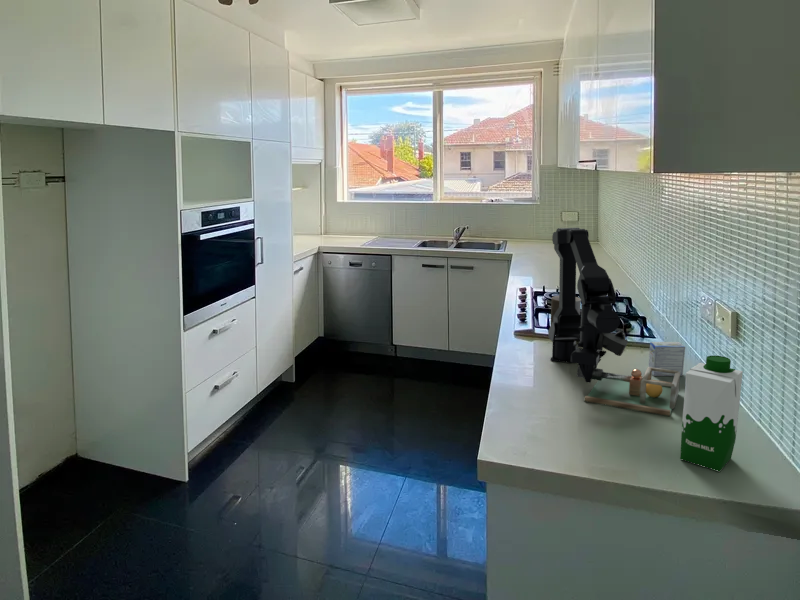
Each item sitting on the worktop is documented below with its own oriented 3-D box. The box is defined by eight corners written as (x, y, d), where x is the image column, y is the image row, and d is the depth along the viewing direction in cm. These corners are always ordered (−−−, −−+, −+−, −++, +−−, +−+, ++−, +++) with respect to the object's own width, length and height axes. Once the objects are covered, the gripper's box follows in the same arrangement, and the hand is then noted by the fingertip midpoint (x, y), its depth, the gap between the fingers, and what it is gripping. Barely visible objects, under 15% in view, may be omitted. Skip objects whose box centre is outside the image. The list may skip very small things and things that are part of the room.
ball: (661, 400, 134) (643, 398, 136) (663, 394, 138) (646, 393, 140) (661, 384, 134) (643, 383, 136) (663, 379, 137) (645, 378, 139)
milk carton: (737, 458, 107) (748, 360, 103) (723, 476, 101) (734, 373, 97) (689, 444, 113) (698, 351, 109) (672, 460, 107) (681, 362, 103)
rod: (576, 385, 145) (576, 363, 143) (579, 381, 148) (580, 359, 146) (639, 396, 137) (640, 372, 136) (641, 391, 140) (642, 367, 139)
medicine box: (676, 371, 155) (679, 341, 153) (683, 376, 151) (685, 346, 149) (647, 370, 156) (649, 341, 154) (653, 376, 152) (655, 346, 150)
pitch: (584, 401, 136) (585, 377, 135) (601, 376, 153) (602, 354, 151) (672, 417, 126) (674, 391, 125) (679, 388, 143) (681, 364, 141)
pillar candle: (547, 339, 189) (549, 296, 185) (552, 331, 197) (554, 290, 194) (576, 342, 184) (579, 298, 181) (581, 334, 193) (583, 292, 190)
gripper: (619, 335, 129) (615, 398, 133) (632, 317, 145) (628, 374, 148) (571, 330, 135) (568, 390, 138) (588, 313, 150) (585, 367, 154)
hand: (589, 380), depth 144 cm, fingers closed on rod, 3 cm apart
